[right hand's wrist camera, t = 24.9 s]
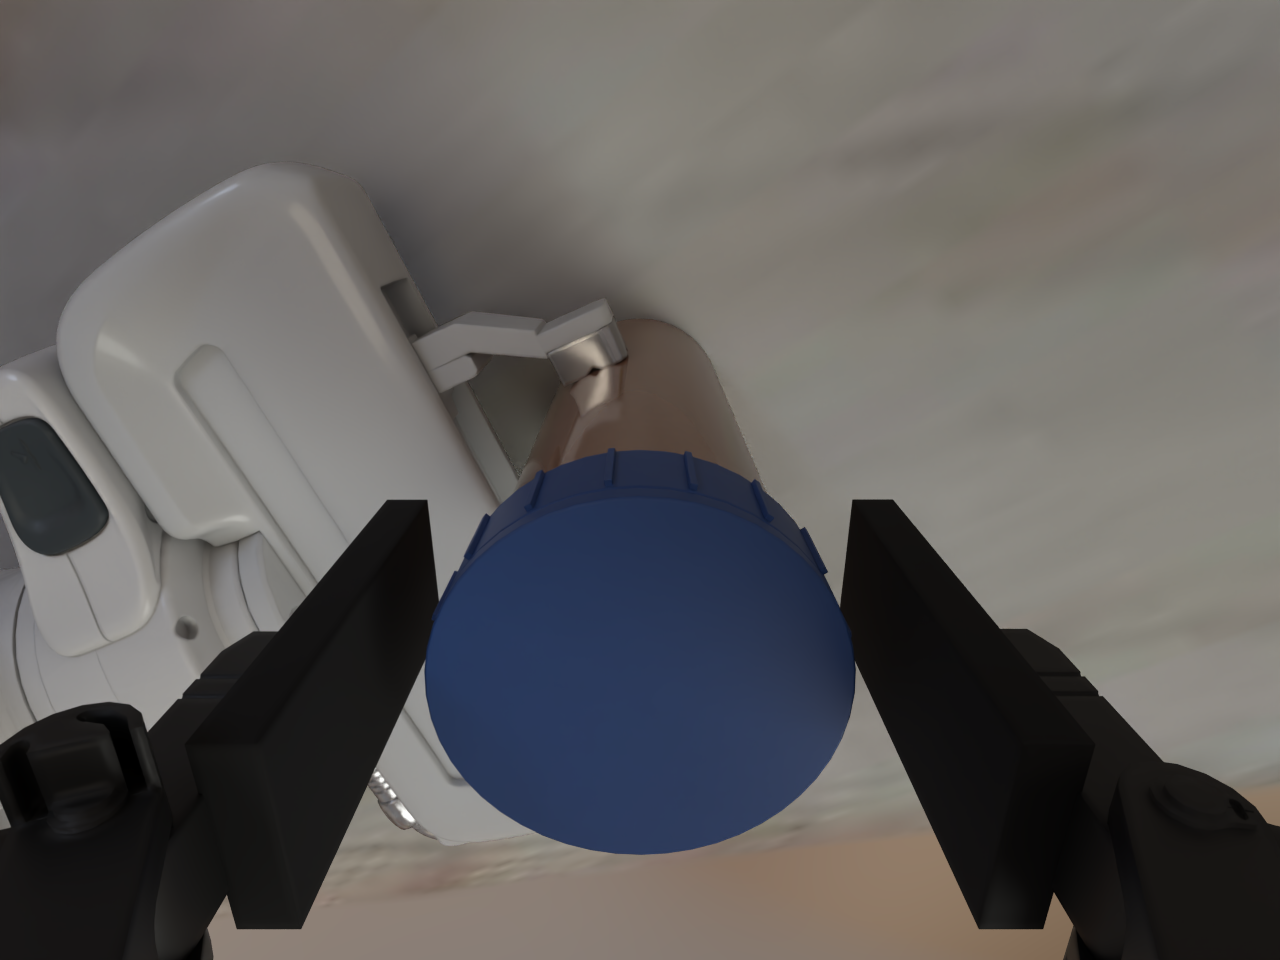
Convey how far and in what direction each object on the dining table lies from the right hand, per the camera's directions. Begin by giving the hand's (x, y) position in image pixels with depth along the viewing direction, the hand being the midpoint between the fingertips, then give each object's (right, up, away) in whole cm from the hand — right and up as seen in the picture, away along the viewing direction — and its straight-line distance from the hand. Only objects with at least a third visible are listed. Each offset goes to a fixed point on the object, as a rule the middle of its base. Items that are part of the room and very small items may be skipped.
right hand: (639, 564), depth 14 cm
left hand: (+1, +3, +6) cm, 7 cm away
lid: (0, -1, -3) cm, 4 cm away
